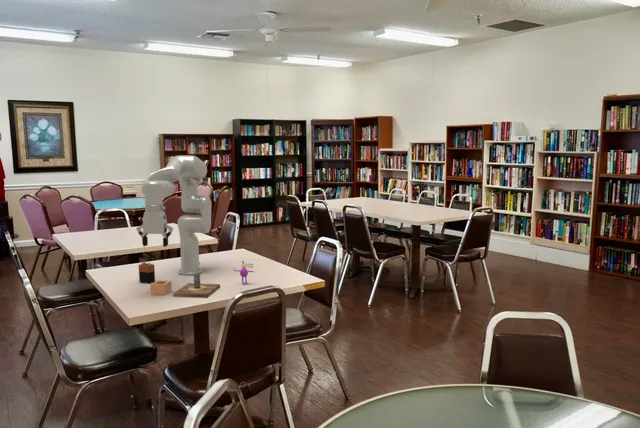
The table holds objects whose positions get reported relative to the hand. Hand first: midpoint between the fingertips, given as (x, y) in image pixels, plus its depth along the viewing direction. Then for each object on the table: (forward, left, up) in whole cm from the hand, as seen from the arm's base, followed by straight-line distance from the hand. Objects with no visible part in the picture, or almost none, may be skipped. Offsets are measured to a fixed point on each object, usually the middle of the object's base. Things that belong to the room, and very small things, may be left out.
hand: (155, 246), depth 228 cm
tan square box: (-3, +1, -23) cm, 23 cm away
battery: (-21, -15, -23) cm, 34 cm away
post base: (-7, +17, -23) cm, 29 cm away
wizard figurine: (-23, +35, -23) cm, 47 cm away
